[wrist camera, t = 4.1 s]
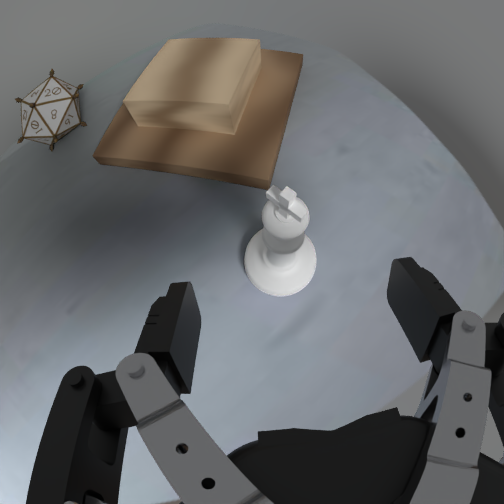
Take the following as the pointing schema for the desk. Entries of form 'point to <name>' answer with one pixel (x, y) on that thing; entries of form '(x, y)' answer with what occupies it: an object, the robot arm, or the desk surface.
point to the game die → (50, 111)
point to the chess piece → (281, 246)
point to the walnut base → (214, 147)
